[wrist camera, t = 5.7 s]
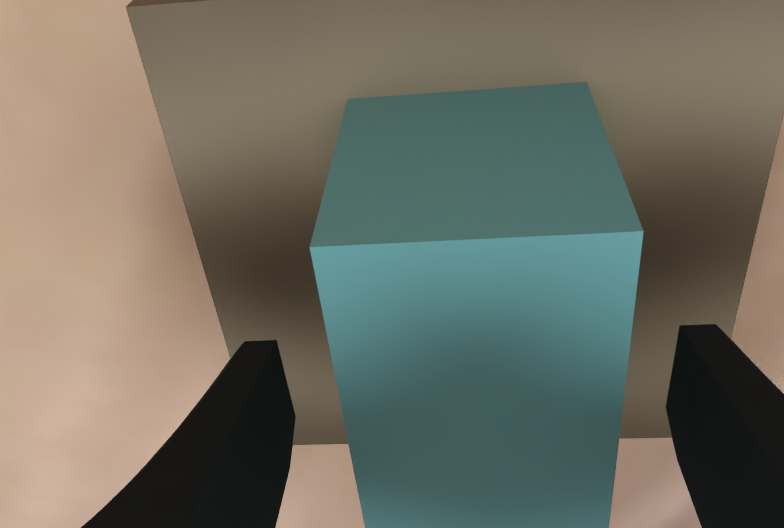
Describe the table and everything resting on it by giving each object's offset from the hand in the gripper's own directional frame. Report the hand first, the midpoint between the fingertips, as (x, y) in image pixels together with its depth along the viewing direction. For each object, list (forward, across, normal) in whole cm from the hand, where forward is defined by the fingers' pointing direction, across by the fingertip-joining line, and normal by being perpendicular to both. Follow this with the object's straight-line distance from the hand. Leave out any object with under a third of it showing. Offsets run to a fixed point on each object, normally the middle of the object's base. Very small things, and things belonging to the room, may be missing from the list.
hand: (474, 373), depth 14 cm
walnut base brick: (+6, 0, 0) cm, 6 cm away
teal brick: (+3, 0, 0) cm, 4 cm away
